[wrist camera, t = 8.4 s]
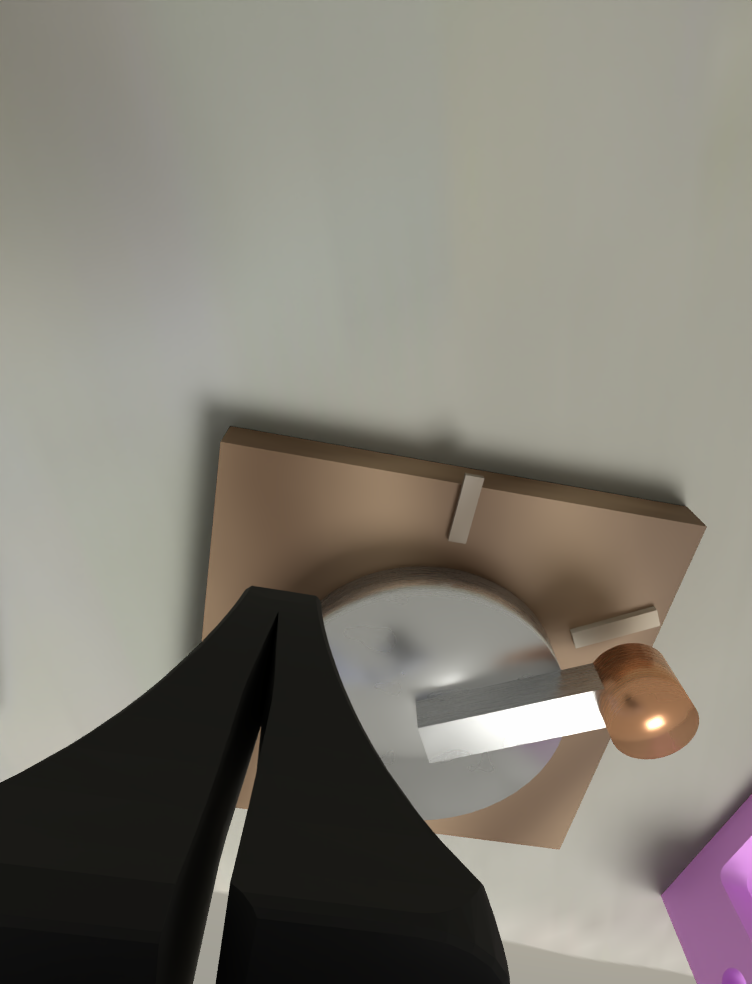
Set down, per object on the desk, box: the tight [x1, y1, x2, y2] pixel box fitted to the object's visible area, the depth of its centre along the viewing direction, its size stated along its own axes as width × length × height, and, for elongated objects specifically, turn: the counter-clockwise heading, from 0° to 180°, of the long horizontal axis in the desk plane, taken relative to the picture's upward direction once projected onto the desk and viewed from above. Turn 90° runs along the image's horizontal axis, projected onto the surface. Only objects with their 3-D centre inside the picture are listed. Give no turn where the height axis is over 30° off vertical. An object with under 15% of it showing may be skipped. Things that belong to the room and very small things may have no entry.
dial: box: [321, 566, 699, 820], centre depth 22 cm, size 13×10×4 cm
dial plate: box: [202, 426, 707, 850], centre depth 24 cm, size 16×16×2 cm
